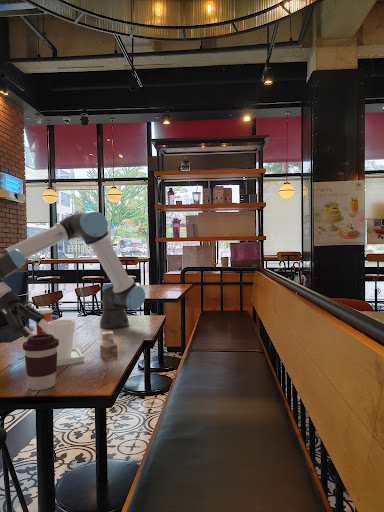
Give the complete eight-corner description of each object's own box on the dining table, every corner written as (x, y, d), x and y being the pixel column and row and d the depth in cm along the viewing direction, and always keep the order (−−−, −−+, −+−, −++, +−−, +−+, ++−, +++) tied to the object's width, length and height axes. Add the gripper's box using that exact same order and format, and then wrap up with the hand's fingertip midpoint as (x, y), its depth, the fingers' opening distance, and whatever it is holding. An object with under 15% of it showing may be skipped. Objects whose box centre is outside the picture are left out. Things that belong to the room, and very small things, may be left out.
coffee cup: (54, 392, 101) (52, 339, 101) (18, 393, 101) (16, 341, 100) (63, 379, 111) (62, 331, 111) (31, 380, 110) (30, 333, 110)
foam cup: (49, 362, 125) (48, 325, 125) (47, 355, 133) (46, 321, 133) (77, 358, 129) (76, 322, 129) (73, 351, 137) (72, 318, 137)
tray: (77, 352, 140) (77, 347, 140) (83, 361, 129) (83, 356, 129) (41, 358, 134) (41, 352, 134) (45, 367, 123) (45, 362, 123)
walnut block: (110, 354, 138) (110, 343, 137) (117, 356, 134) (117, 345, 134) (100, 357, 134) (100, 345, 134) (107, 359, 131) (106, 347, 131)
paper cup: (46, 342, 157) (46, 310, 157) (31, 341, 159) (30, 310, 159) (56, 338, 165) (56, 308, 165) (42, 337, 166) (41, 307, 166)
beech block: (112, 341, 158) (112, 331, 158) (113, 343, 154) (113, 333, 154) (102, 342, 157) (102, 331, 157) (102, 344, 152) (102, 334, 152)
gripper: (14, 299, 144) (51, 336, 144) (-25, 310, 119) (20, 354, 119) (27, 286, 144) (64, 323, 144) (-10, 294, 119) (35, 338, 119)
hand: (44, 337), depth 131 cm, fingers open, 13 cm apart
